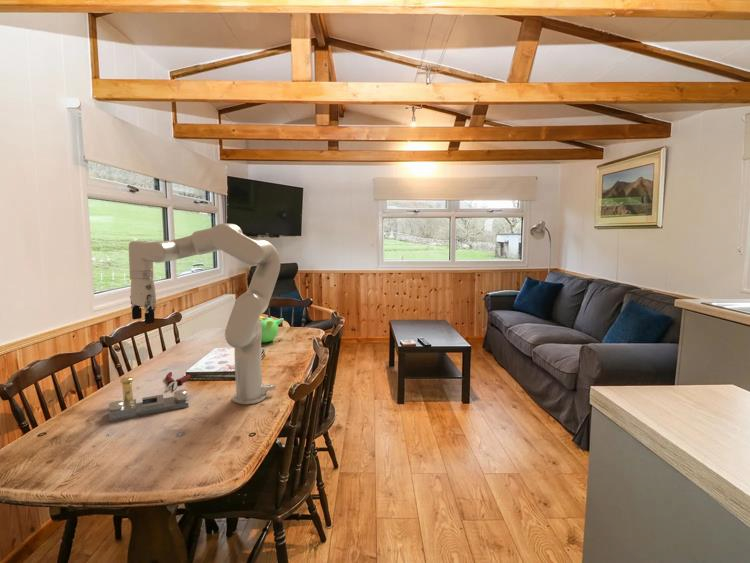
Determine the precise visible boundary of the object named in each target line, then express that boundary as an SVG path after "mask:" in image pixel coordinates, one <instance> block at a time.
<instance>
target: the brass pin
mask: <svg viewBox="0 0 750 563" xmlns="http://www.w3.org/2000/svg"><path fill="white" fill-rule="evenodd" d="M133 381H134V377H132V376H127V377H123V378H122V377H121V378H120V380H119V383H121V385H122V386H121V387H122V399H123V400H122V401H128V400H134V397H133V396H134V395H133V393H134V392H133V385H132V382H133Z"/></svg>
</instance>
